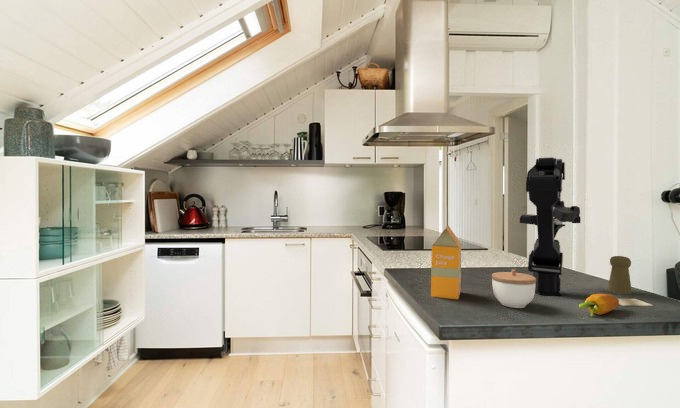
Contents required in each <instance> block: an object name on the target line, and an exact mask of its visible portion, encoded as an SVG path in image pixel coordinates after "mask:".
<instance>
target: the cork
mask: <svg viewBox="0 0 680 408" xmlns="http://www.w3.org/2000/svg"><path fill="white" fill-rule="evenodd" d="M609 264H610V265H611V269H610V275H609V279H608V280H609V281H608V285H607V291H608V292H610V293H613V294H619V295H633V291H632V282H631V276H630V269H629V268H630V267H631V265H632V261H631V259H630V258H629V257H626V256H623V255H622V256H621V255H614V256H613V255H612V256H611V257H610V258H609Z"/></svg>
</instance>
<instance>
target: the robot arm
mask: <svg viewBox="0 0 680 408" xmlns="http://www.w3.org/2000/svg"><path fill="white" fill-rule="evenodd" d="M565 180H566V163H565V162H564V161H563V159H562V158H557V157H538V158H536V159H535V164H534V165H533V166H532V167H530V169H529V170H528V171H527V174H526V181H525V191H526V193H528V197H529V198H528V200H529V201H530V202H531V203H532V204H533V205H534V206H535V209H536V214H531V213H530V214H521V215H520V217H519V223H520V224H525V225H534V226H536V228H537V229H536V230H537V238H536V239H535V242H534V244H533V250H532V249H531V251H530V253H529V254H528V255H529V256H528V263H527V271H529V272H530V273H531V272H532V276H534V277H535V278H536V287H535V293H536V294H538V295H540V296H541V295H542V296H546V295H547V296H548V295H549V296H562V295H563V293H562V292H561V278H560V276H562V275H563V264H564V262H563V261H564V259H563V258H564V254H563V253H564V252H562V251H561V245H560V241H559V239H555V238H556V236H557V234H558V232H559V230H560V229H562V227H566V223H572V224H581V216H580V214H581V210H580V206H577V205H571V206H570V207H569V206H565V201H564V200H562V199H561V194H562V191H563V181H565ZM563 223H565V224H563Z"/></svg>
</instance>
